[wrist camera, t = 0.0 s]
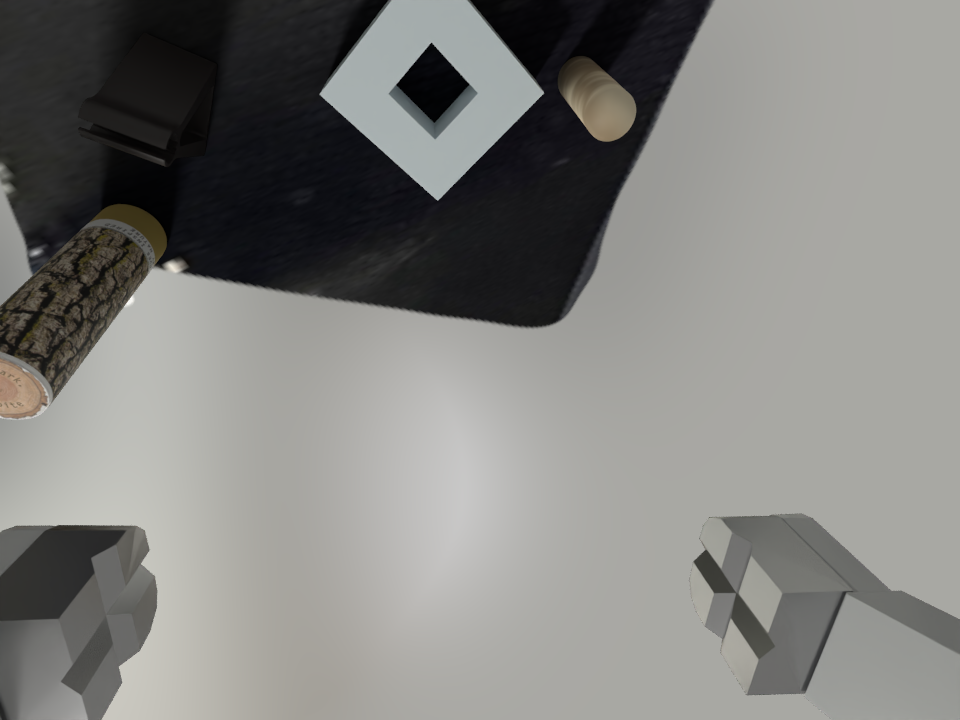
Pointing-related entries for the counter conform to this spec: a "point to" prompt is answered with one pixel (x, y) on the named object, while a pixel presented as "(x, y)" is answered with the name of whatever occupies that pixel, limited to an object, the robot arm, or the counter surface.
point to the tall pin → (596, 98)
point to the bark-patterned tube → (72, 306)
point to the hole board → (398, 120)
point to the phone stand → (154, 103)
